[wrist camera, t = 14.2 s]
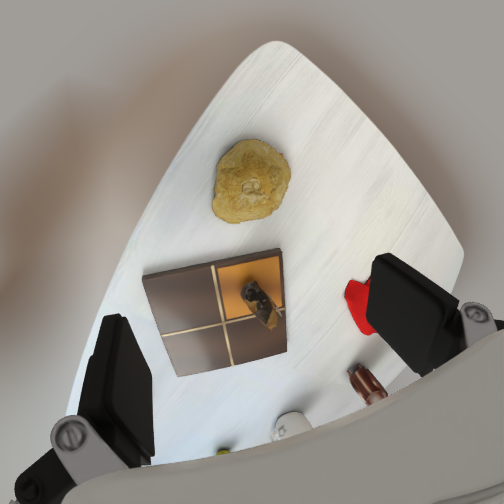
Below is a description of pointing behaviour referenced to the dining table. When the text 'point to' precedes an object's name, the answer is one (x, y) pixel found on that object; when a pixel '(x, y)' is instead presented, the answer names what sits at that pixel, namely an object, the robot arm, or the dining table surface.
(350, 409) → the dining table surface
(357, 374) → the alarm clock
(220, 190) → the fossil
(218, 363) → the board
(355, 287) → the cloth
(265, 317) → the rock
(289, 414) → the mug
